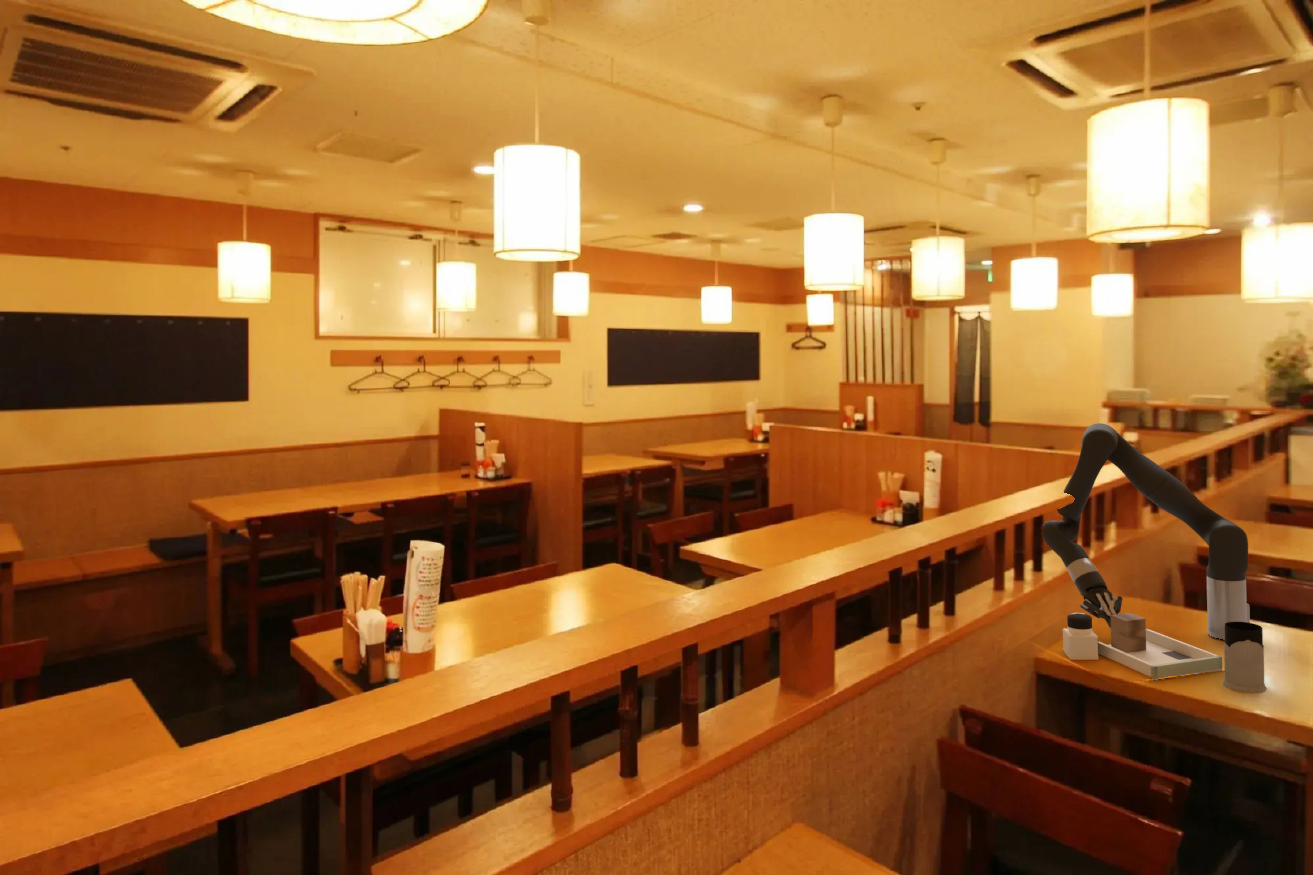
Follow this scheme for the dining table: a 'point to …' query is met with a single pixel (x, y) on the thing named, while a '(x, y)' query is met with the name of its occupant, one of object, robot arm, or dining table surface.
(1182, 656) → the mat
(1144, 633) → the walnut block
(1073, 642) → the medicine bottle
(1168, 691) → the dining table surface
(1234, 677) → the glass holder
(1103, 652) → the shallow white tray
